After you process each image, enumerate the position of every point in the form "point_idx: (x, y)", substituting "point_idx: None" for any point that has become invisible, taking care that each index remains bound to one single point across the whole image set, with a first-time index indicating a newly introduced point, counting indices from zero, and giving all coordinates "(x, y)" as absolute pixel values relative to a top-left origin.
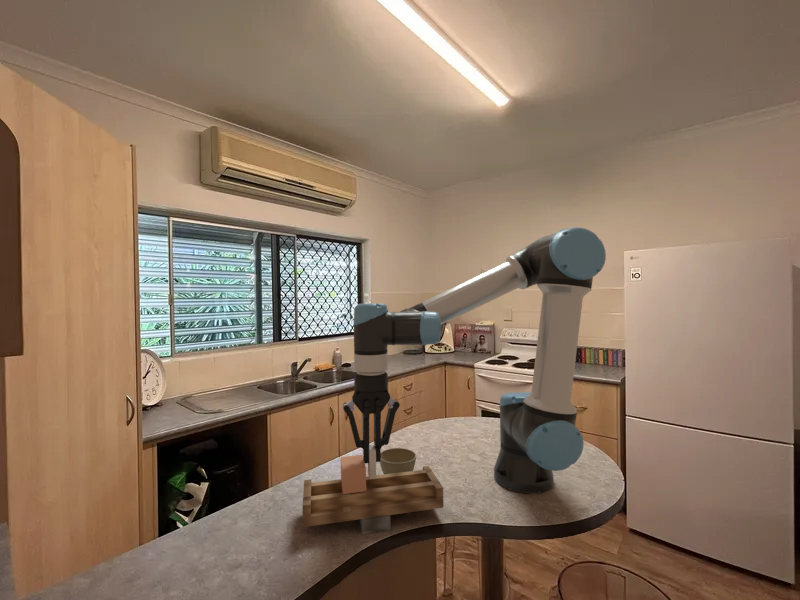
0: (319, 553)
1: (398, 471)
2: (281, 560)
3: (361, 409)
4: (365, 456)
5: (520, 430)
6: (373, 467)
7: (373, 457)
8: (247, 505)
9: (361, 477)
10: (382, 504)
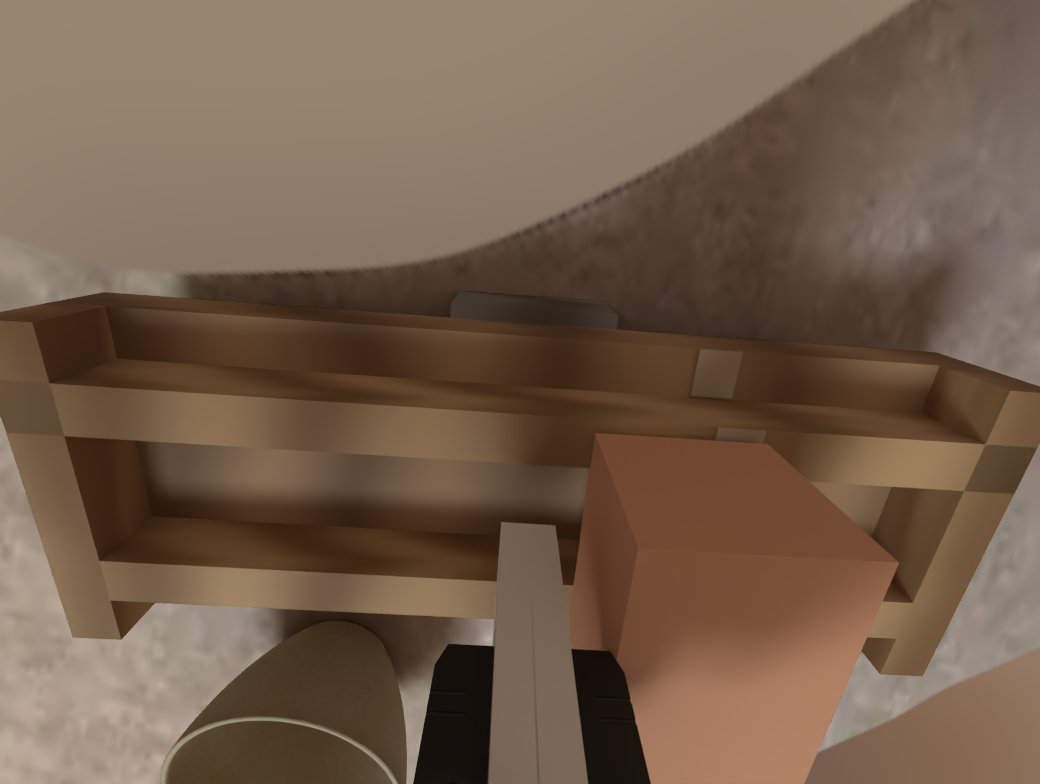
0: (835, 221)
1: (314, 672)
2: (1008, 227)
3: None
4: (617, 723)
5: None
6: (523, 593)
7: (524, 687)
8: (1008, 647)
9: (660, 495)
10: (486, 358)
